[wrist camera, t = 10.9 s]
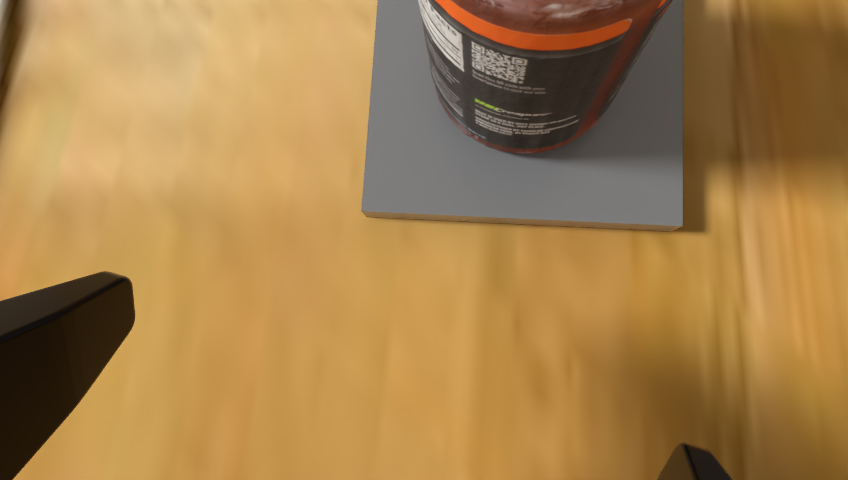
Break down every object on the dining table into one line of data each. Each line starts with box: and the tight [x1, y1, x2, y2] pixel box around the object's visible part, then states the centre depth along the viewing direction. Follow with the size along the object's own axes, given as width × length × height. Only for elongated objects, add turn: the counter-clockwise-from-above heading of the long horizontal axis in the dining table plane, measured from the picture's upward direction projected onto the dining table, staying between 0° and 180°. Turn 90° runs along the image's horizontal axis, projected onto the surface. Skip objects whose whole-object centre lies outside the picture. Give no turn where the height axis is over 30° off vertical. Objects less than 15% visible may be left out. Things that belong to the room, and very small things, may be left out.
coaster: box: [362, 0, 683, 231], centre depth 20 cm, size 10×10×1 cm
